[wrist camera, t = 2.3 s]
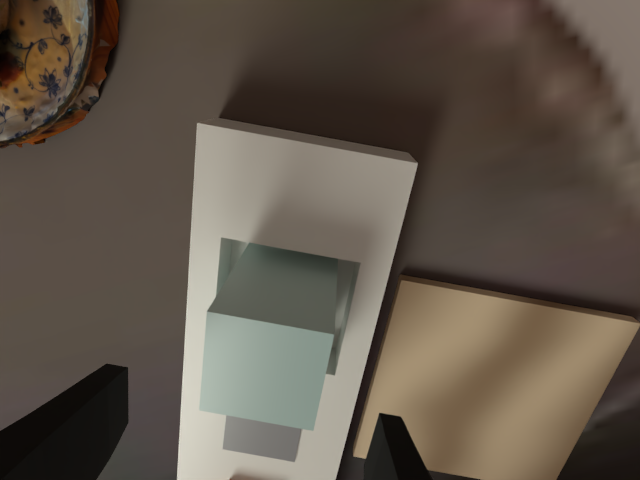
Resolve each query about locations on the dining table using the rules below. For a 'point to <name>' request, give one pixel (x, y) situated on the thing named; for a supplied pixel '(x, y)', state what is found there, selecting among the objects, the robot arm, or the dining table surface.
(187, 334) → the white slotted tray
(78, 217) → the dining table surface
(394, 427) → the robot arm
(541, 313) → the cork mat
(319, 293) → the grey-green block
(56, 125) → the burger
